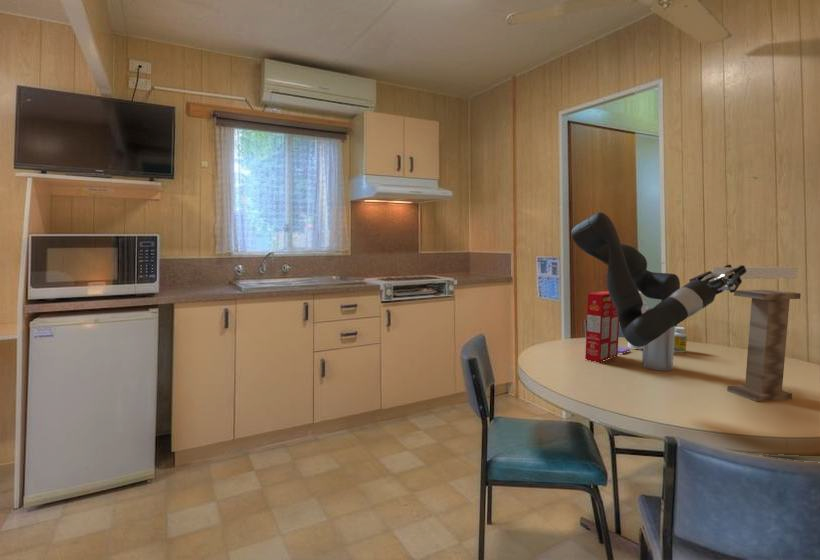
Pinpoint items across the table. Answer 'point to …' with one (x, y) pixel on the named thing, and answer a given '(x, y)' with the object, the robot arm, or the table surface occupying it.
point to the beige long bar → (759, 272)
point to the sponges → (622, 350)
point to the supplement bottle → (680, 339)
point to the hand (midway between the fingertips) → (737, 267)
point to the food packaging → (601, 327)
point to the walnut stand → (766, 345)
